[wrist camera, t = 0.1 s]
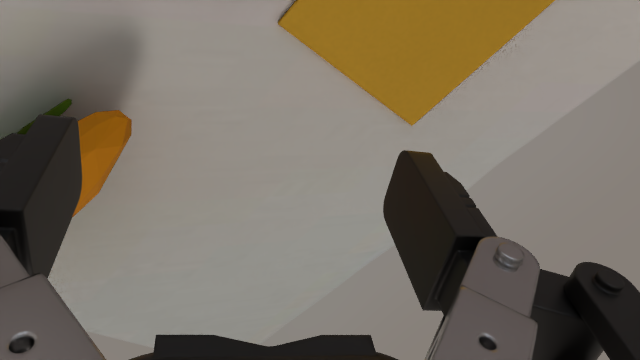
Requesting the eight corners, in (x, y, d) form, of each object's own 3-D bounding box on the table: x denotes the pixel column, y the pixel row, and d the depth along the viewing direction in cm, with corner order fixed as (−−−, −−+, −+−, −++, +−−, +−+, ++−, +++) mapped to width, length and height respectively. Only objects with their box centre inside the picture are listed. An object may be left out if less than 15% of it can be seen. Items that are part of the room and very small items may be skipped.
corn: (-114, 283, 34) (54, 118, 27) (-73, 202, 40) (77, 47, 33) (-5, 315, 39) (163, 181, 32) (19, 239, 44) (168, 110, 37)
